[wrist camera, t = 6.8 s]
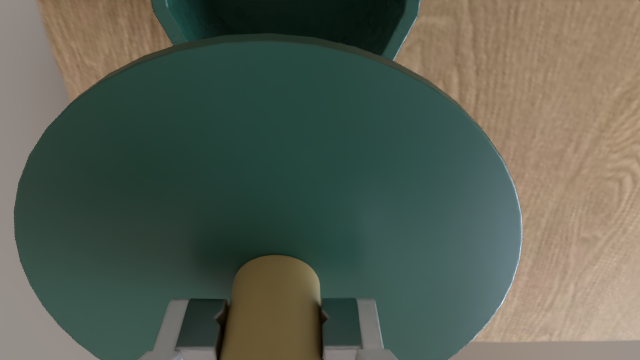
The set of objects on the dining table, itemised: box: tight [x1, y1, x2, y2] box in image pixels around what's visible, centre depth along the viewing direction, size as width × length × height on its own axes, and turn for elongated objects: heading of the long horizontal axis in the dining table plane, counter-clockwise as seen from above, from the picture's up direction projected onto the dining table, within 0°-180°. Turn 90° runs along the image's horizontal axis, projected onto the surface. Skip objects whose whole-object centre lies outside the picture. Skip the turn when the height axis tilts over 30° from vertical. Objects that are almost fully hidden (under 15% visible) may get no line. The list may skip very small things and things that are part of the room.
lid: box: [14, 33, 522, 360], centre depth 12 cm, size 15×15×5 cm
